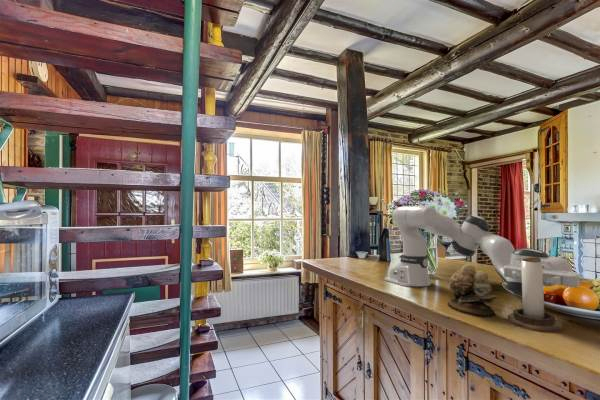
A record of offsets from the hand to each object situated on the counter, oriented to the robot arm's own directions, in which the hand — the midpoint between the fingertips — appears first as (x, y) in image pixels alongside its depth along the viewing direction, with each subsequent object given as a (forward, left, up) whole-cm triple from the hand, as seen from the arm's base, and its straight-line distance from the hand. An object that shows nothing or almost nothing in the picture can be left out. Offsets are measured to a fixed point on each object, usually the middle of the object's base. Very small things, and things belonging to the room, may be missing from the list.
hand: (531, 278), depth 97 cm
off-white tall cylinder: (0, +1, -13) cm, 14 cm away
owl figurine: (-18, -1, -15) cm, 24 cm away
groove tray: (0, +1, -14) cm, 15 cm away
